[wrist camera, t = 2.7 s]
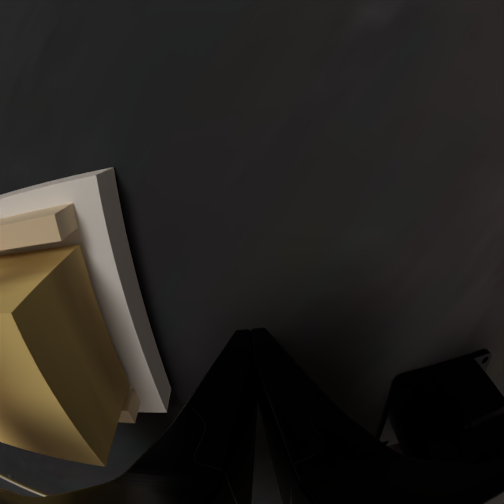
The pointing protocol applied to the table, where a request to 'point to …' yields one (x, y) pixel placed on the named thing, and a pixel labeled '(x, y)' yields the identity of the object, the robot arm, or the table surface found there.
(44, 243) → the track
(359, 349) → the table surface
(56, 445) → the block
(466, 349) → the table surface
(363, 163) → the table surface
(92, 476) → the table surface
